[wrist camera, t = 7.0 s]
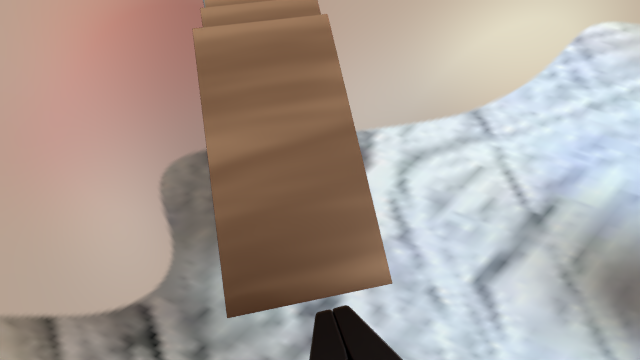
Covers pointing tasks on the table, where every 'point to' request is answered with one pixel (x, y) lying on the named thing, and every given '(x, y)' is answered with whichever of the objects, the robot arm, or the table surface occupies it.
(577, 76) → the table surface
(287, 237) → the domino
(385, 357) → the robot arm
